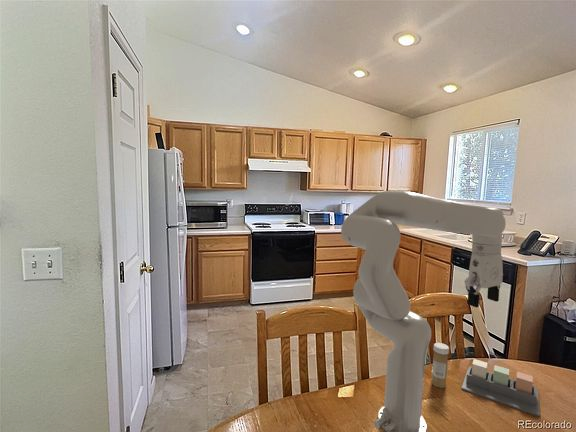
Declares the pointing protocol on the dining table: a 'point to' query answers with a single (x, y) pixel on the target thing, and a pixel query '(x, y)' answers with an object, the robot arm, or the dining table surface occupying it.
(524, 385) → the terracotta button
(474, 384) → the button panel
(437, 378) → the sprinkles bottle
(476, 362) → the cream button
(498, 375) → the green button
